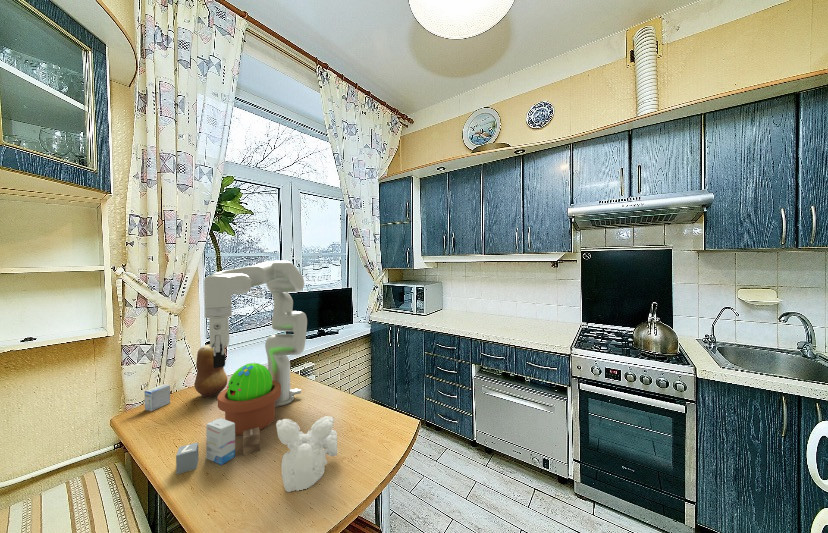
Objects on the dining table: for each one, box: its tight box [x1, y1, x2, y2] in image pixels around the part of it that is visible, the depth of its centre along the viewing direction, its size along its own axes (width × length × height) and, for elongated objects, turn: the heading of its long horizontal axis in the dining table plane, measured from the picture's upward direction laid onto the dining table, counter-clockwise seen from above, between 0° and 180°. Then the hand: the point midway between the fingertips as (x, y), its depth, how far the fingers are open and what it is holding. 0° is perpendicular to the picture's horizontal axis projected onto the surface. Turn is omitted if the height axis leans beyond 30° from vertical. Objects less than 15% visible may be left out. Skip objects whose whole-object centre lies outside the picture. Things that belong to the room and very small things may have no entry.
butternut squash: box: [194, 344, 228, 399], centre depth 145 cm, size 14×13×25 cm
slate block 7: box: [175, 441, 200, 475], centre depth 95 cm, size 5×5×6 cm
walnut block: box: [242, 427, 261, 456], centre depth 104 cm, size 5×5×6 cm
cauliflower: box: [275, 415, 338, 493], centre depth 93 cm, size 19×20×20 cm
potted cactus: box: [217, 362, 281, 436], centre depth 120 cm, size 22×22×25 cm
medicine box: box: [144, 383, 171, 412], centre depth 134 cm, size 8×4×9 cm, turn 164°
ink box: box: [205, 417, 236, 466], centre depth 99 cm, size 9×5×12 cm, turn 65°
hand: (219, 366), depth 99 cm, fingers closed
